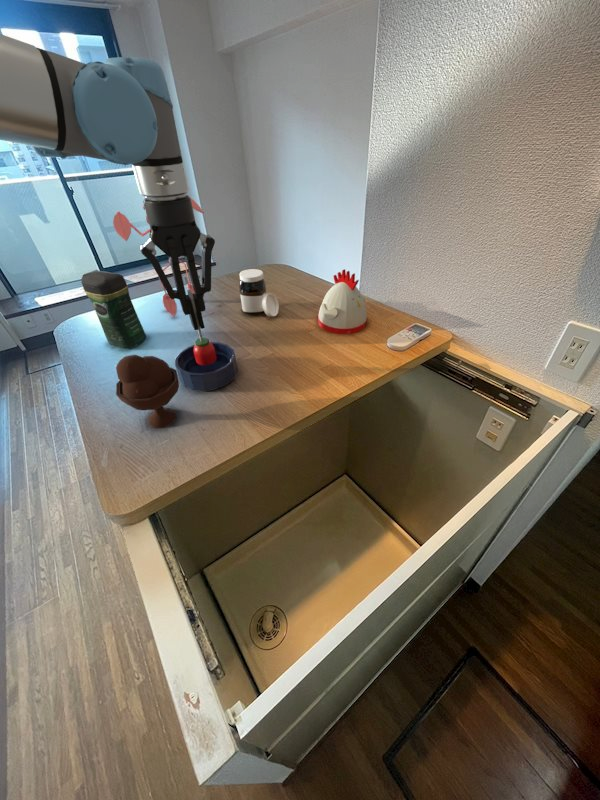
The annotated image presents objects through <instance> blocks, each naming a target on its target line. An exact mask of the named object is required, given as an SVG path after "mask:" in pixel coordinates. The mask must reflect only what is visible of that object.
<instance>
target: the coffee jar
mask: <svg viewBox="0 0 600 800" xmlns="http://www.w3.org/2000/svg"><path fill="white" fill-rule="evenodd" d="M80 281H81V285H82V288H83V290H84V293H85V294H86V296H87V297H88V299H89V301H90V303H91V304H92V306H93V308H94V309H93V310H94V311H95V314H96V316H97V318H98V320H99V323H100V325H101V328H102V332H103V333H104V336H105V339H106V340H107V343H108V344H110V345H111V346H113V347H117V348H120V349H131V348H133V347H137V346H139V345H141V344H142V343H143V342H145V340H146V339H147V335H146V332H145V329H144V327H143V325H142V323H141V321H140V317H139V316H138V313H137V311H136V308H135V306H134V304H133V301H132V300H131V296H130V292H129V286H128V283H127V282H126V279H125V277H124V275H122V274H121V273H115V272H109V271H104V270H103V271H102V270H98V269H95V270H91V271H89V272H85V273H84V274H82V276H81V280H80Z"/></svg>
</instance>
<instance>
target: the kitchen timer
mask: <svg viewBox="0 0 600 800" xmlns="http://www.w3.org/2000/svg"><path fill="white" fill-rule="evenodd" d="M350 273H351V272H350V270H347V271H346V268H344V269H342V271H339V272H337V274H334V275H333V281H334V285H332V287H330V288H329V289H328V291H327V292H326V294H325V295H324V297H323V300H322V302H321V304H320V307H319V310H318V317H317V321H318V322H317V323H318V325H319V327H320V328H321V329H323V330H324V331H326V332H329V333H331V334H336V335H352V334H356V333H359V332H360V331H362V330H364V329H365V327H366V324H367V319H368V317H367V316H368V313H367V308H366V298H365V296H364V295H363V294H362V293H361V291H360V290H359V288H358V287H357V285H358V284H359V281H360V279H357V280H355V279H356V273H355V272H354V273H352V274H350Z"/></svg>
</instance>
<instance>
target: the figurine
mask: <svg viewBox="0 0 600 800" xmlns="http://www.w3.org/2000/svg"><path fill="white" fill-rule="evenodd" d="M191 203H192V208H193V210H195V211H197V212H199V213H201V214H204V213H205V211H204V210H203V209H202V208H201V206H200V205H199V204H198V203H197V202H196V201H195V199H193V198H191ZM142 209H143V210H144V211H145V208H144V204H143V203H142ZM145 221H146V223H147V224H148V225H149V221H148V218H147V214H146V213H145ZM112 224H113V228H114V230H115V232H116V234H117V235H118V236H119V237H120V238H122V240H124V241H125V242H128V240H129V238H130V236H131V234H132V229H133V230H134V231H135V232H137V234H139V235H140V236H141V237H145V236H146V235H148V234H150V228H149V229H147V230H146V231H145V232H143V233H142V232H141V231H140V230H139V229H138V228H136V227H135V225H133V224H132V223H131V222H130V220H129V219H128V218H127V216H126V215H125V214H123V213H121V211H118V210H117V212H116V214H114V216H113V221H112ZM168 262H169V263H168V264H167V266H165V267H164V268H162V269H163V271H164V272H165V270H167V269H168V268H169V267H171V264H170V260H169V259H168ZM179 263H181V264H183V265H184V268H185V273H186V276H187V279H188V283H187V284H186V286H187V290H191V292H192V294H194V293H195V292H194V290H193V286H192V282H191V278H190V275H189V271H188V267H187V264H186V262H184V261H182V260H179ZM157 276H158V275H157ZM158 279H159V281H160V285H161V286H162V289H163V292H164V294H163V295H162V305H163V307H164V309H165V312H167V313H168V314H170V315H171V316H172V317H173V318H175V317H176V315H177V310H178V307H177V306H178V305H177V302H176V300H175V299H171V298H170V297H169V295H168V293H167V291H166V289H165V287H164V286H163V284H162V282H161V280H160V278H159V276H158ZM217 310H218V308H216V309H215V311H217ZM213 313H214V311H212V312H211V313H209V314H207V315H205V316H202V318H203V319H204V318H206V317H207V316H210V315H212V314H213Z"/></svg>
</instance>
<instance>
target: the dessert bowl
mask: <svg viewBox="0 0 600 800" xmlns="http://www.w3.org/2000/svg"><path fill="white" fill-rule="evenodd" d="M210 342H211V343H212V344H213V346H214V348H215V352H216V357H217V359H216V361H215V362H214V363H212V364H210V365H199V364H197V362H196V359H195V355H194V351H193V349H194V346H195V344H193V345H191V346H190V345H189V346H188V347H186V348H185V349H182V350H181V351H180V352H179V353H178V354H177V356H176V357H175V359H174V364H175V365H174V366H175V370H176V371H177V376H178V380H179V383H181V384H182V385H183V387H185V388H187V389H190V390H192V391H197V392H199V391H202V392H208V391H213V390H218V389H220V388H222V387H224V386H227V385H228V384H230V383H231V382H232V381H234V379H236V377H237V374H238V373H239V368H238V361H237V356H236V352H235V349H234V348H232V347H231V345H229V344H227V343H223V342H221V341H220V342H219V341H210Z"/></svg>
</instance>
